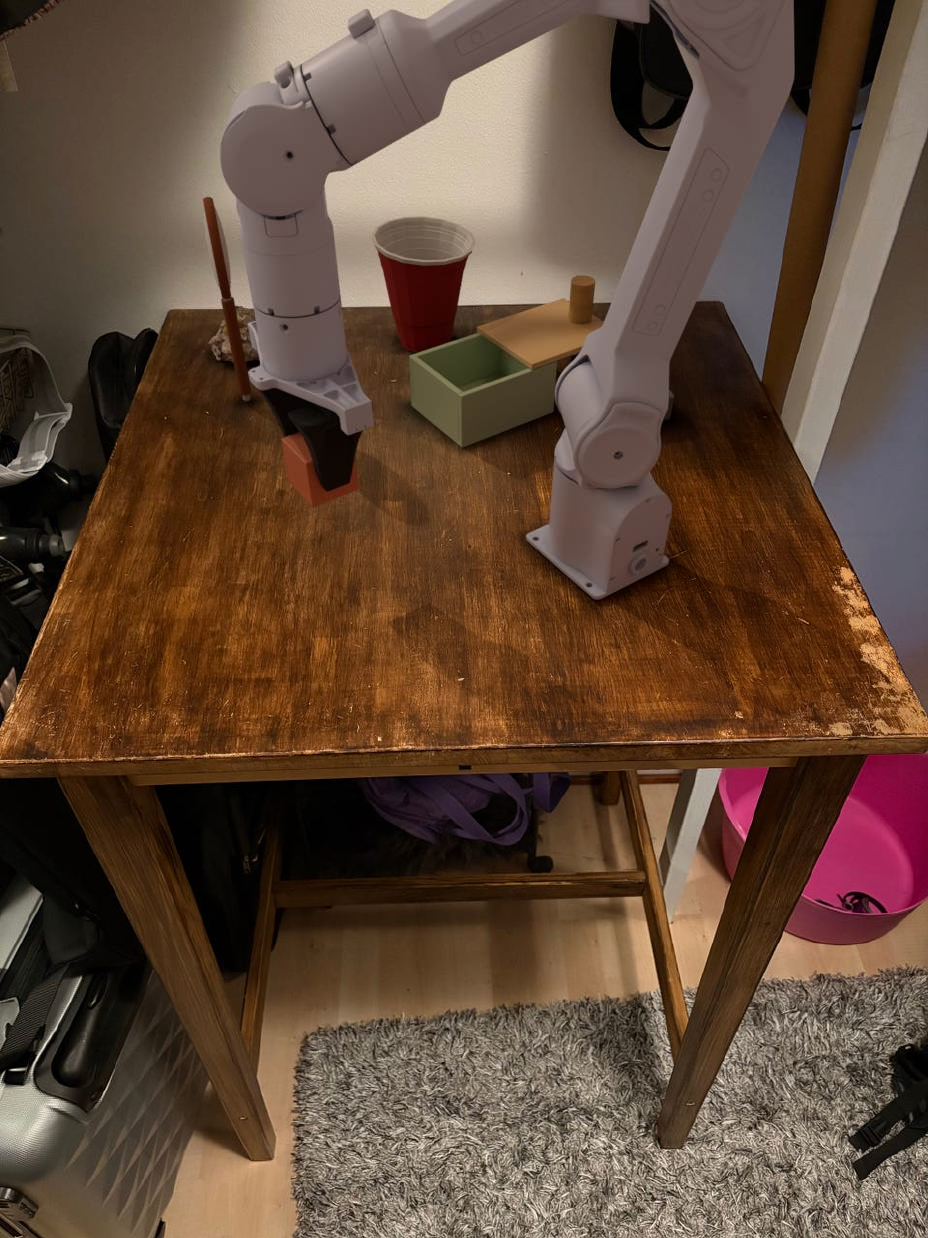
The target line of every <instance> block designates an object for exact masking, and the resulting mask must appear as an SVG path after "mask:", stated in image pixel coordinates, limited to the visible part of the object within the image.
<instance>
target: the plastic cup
mask: <svg viewBox="0 0 928 1238" xmlns="http://www.w3.org/2000/svg"><path fill="white" fill-rule="evenodd" d="M370 236H371V240H372V243H373V246H374V248H375V250H376V251H377V256H378V258H379V262H380V267H381V270H382V273H383V277H384V283H385V287H386V291H387V296H388V301H389V305H390V310H391V314H392V316H393V319H394V320H393V321H394V323H395V328H396V333H397V338H398V340H399V342H400V344H401V347H402V348H404V349H405V350H407V351H409V352H412V353H414V354H416V353H419V352H422V351H425V350H428V349H431V348H434V347H437V346H440V345H443V344H446V343H449V342H452V337H453V333H454V326H455V319H456V315H457V312H458V307H459V301H460V297H461V296H460V295H461V291H462V290H461V289H462V283H463V277H464V272H465V269H466V265H467V261H468V258H469V257H470V256H471V254H473V251H474V248H475V245H476V242H477V240H476V238H475V236H474V235H473V234H472V232H471V231H469V230H468V229H466V227H464V226H462V225H460V224H458V223H455V222H453V221H450V220H447V219H443V218H436V217H429V216H402V217H398V218H394V219H389V220H386V221H384V222H382V223H380V224H379V225H377V226H375V228H374V229H373V232H372V233H371V235H370Z"/></svg>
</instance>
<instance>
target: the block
mask: <svg viewBox="0 0 928 1238" xmlns="http://www.w3.org/2000/svg"><path fill="white" fill-rule="evenodd" d="M280 440H281V441H280V442H281V446H282V451H283V457H284V463H285V468H286V474H287V479H288V480H287V481H288V483H289V484H290V485H291V486H292V488H294V489H295V490H296V492H297V493H299V495H300V496H301V497H302V498H303V499H304V500H305V501H306V502H307V503H308V505H309V506H310V507H312V508H316V507H319V506H321V505H324V504H326V503H329V502H331V501H334V500H337V499H338V498H341V497H344V496H346V495H349V494H351V493H353V492H355V491H358V490H360V487H359V477H358V468H357V459H356V457H355V458H354V464H353V470H352V475H351V480H350V483H349V484H346V485H344V486H341V487H339V488H336V489H334V490H331V491H329V492H328V491H325V490H324V489H323V487H322V485H321V484H320V482H319V479H318V477H317V474H316V471H315V468H314V464H313V461H312V457H311V454H310V451H309V449H308V447H307V444H306V442H305V440H304V438H303V436H302V435H301V433H300V432H298V433H295V434H292V435H289V436H287V437H284V436H283V437H282V438H281V439H280Z"/></svg>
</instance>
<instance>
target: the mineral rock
mask: <svg viewBox="0 0 928 1238" xmlns="http://www.w3.org/2000/svg"><path fill="white" fill-rule="evenodd" d="M235 308H236V313H237V318H238V323H239V329H240V334H241V339H242V344H243V350H244V355H245V360H246V363H247V362H252V361H259V362H260V359H259V354H258V351H256V350H255V349H254V348H253V347H252V344H251V339H250V334H249V328H248V323H250V322H253V321H256V319H255V313H254V312H253V311H252V310H251V309H250V308H248V307H243V306H242V305H235ZM207 344H209V347H210V348H211V352H213V356H215V359H216V360H217V361H219V362H221V361H224V362H228V361H229V362H231V363H234V362H233V357H232V352H231V347H230V342H229V337H228V332H227V327H226V322H225V318H224V317H223V319H222V320H221V323H220V326H219V329H218V330H217V333H216V334H215V335H213V336H212V337H211V338H210V339H209V340H208V342H207Z"/></svg>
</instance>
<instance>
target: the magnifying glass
mask: <svg viewBox="0 0 928 1238" xmlns="http://www.w3.org/2000/svg"><path fill="white" fill-rule="evenodd" d="M202 203H203V225H204V234H205V235H204V237H205V241H206V247H207V253H208V257H209V261H210V266H211V269H212V272H213V276H214V278H215V281H216V284H217V286H218V289H219V291H220V295H221V299H220V302H221V309H222V313H223V319H224V318H225V322H226V327H227V332H228V337H229V342H230V347H231V352H232V357H233V362H232V363H233V367H234V371H235V372H234V373H235V376H236V382H237V386H238V391H239V395H241V396H242V400H243V401H245V402H249V401H250V400H251V394H252V387H251V382H250V379H249V374H248V372H249V371H248V366H247V362H246V360H245V355H244V350H243V344H242V339H241V334H240V329H239V323H238V318H237V313H236V308H235V306H236V303H235V299H234V297H233V296H232V292H231V287H232V275H231V265H230V256H229V251H228V246H227V240H226V235H225V233H224V228H223V226H222V222H221V219H220V216H219V213H218V211H217V209H216V207H215V203H214V198H213V197H212V196H205V197H204V198H202Z"/></svg>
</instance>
